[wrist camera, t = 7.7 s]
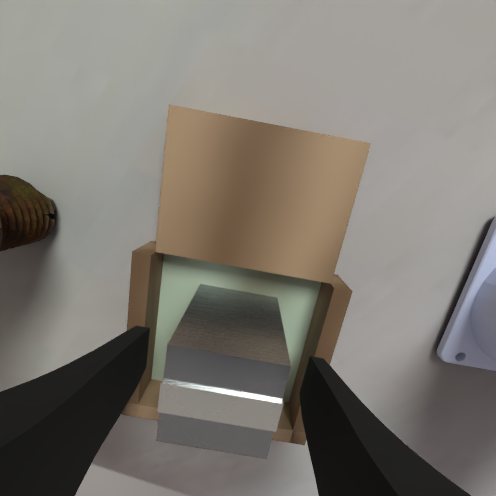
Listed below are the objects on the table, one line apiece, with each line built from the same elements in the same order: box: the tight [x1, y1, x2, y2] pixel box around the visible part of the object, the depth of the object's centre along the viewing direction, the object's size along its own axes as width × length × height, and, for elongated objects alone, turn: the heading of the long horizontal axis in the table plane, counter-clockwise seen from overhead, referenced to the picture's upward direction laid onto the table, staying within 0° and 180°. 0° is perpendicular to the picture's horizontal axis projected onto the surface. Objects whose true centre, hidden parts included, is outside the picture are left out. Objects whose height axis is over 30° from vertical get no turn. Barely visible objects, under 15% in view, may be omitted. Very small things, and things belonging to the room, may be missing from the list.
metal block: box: [156, 284, 291, 459], centre depth 11 cm, size 4×4×5 cm
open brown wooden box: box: [121, 105, 371, 445], centre depth 12 cm, size 10×15×2 cm, turn 170°
